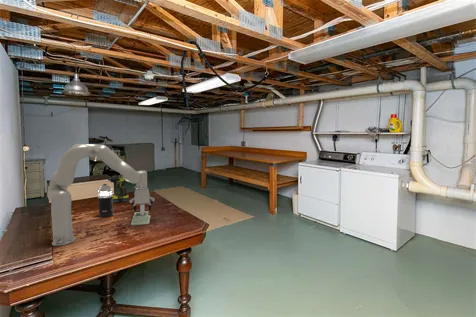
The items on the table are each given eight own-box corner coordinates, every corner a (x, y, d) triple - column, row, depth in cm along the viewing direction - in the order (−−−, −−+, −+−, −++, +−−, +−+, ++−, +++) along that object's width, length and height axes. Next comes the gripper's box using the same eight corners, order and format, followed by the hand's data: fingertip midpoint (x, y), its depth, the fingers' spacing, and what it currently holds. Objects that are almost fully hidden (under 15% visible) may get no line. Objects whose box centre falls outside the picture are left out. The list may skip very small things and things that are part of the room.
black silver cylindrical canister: (97, 218, 187) (95, 185, 184) (100, 213, 196) (99, 182, 194) (112, 217, 189) (110, 185, 187) (114, 212, 199) (113, 182, 197)
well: (149, 223, 176) (148, 216, 176) (130, 225, 173) (130, 218, 173) (150, 216, 192) (150, 210, 191) (133, 217, 188) (133, 211, 188)
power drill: (110, 201, 233) (109, 174, 230) (129, 199, 238) (128, 174, 235) (108, 203, 224) (107, 176, 221) (128, 202, 229) (127, 175, 226)
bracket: (144, 220, 180) (143, 204, 179) (137, 221, 179) (136, 205, 177) (144, 218, 186) (144, 202, 185) (137, 218, 184) (137, 202, 183)
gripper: (128, 189, 174) (129, 213, 176) (154, 188, 179) (154, 211, 181) (129, 187, 181) (130, 209, 183) (154, 186, 186) (155, 208, 188)
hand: (142, 210), depth 182 cm, fingers open, 9 cm apart
